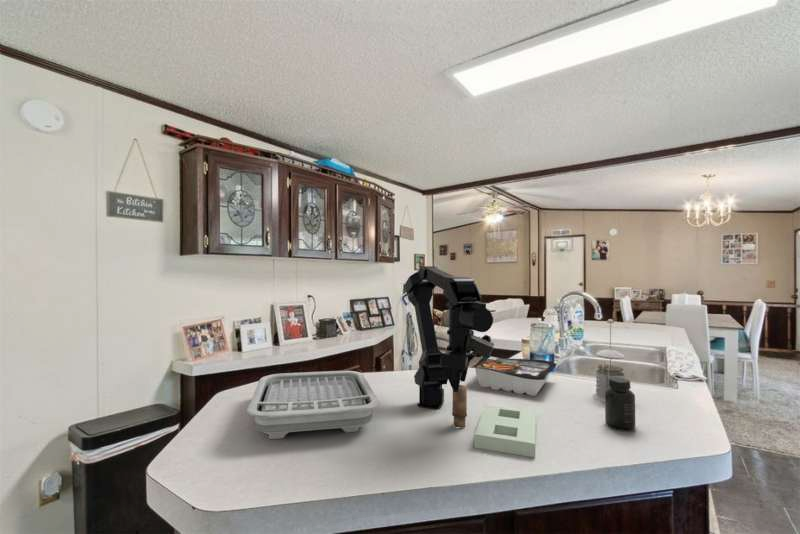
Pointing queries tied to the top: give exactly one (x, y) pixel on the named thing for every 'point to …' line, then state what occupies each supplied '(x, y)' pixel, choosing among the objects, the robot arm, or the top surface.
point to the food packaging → (513, 374)
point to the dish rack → (311, 402)
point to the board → (507, 430)
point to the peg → (460, 406)
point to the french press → (607, 370)
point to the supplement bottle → (620, 405)
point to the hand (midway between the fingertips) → (459, 386)
